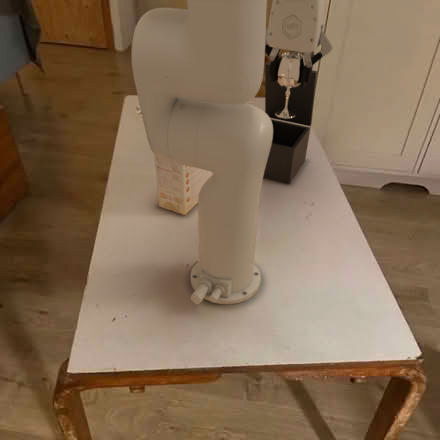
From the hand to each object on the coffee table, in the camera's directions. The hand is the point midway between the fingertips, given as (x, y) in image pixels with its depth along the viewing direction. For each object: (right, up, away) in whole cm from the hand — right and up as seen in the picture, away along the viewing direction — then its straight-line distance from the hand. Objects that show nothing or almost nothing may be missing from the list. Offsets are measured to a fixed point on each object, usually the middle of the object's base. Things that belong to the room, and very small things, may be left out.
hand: (289, 81), depth 94 cm
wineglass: (0, -5, +5) cm, 7 cm away
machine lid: (+1, +1, +9) cm, 9 cm away
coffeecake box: (-22, -23, +7) cm, 32 cm away
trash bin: (-1, -13, +17) cm, 21 cm away
